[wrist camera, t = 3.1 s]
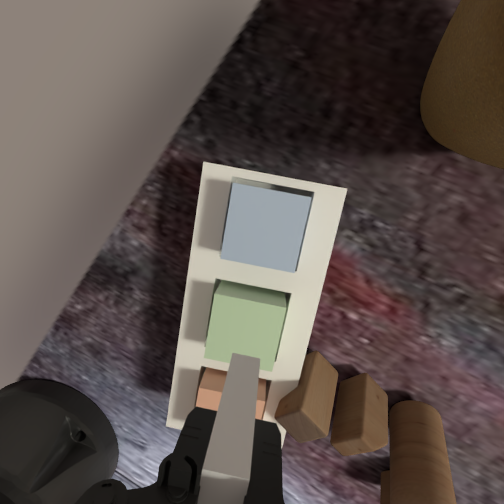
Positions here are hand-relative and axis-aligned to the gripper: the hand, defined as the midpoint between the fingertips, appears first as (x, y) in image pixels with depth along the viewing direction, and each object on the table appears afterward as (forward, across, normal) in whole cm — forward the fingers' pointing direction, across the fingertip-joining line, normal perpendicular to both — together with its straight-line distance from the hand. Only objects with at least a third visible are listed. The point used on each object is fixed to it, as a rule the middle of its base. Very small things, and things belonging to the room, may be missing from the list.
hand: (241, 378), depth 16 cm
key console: (+11, 0, 0) cm, 11 cm away
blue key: (+8, 0, +7) cm, 11 cm away
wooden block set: (+11, +13, -9) cm, 19 cm away
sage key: (+8, 0, 0) cm, 8 cm away
